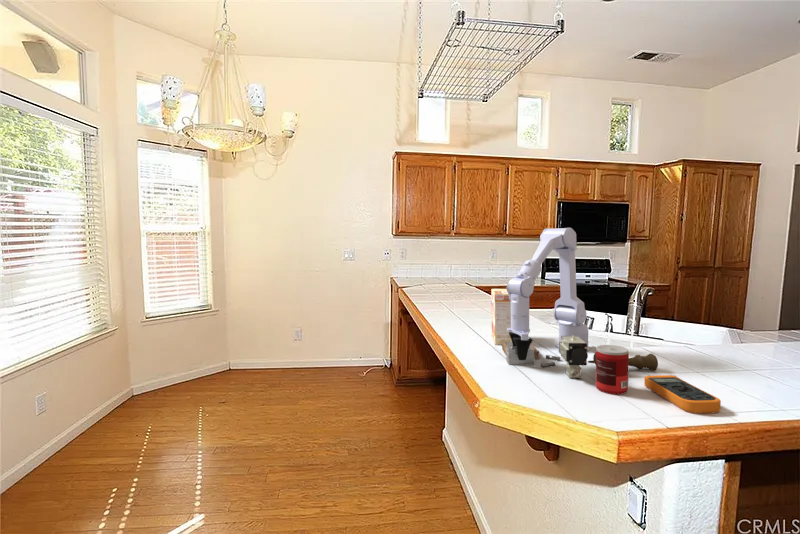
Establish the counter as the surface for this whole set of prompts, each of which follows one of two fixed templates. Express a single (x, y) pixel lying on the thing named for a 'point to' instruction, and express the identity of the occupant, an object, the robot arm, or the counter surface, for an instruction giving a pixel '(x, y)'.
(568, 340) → the pneumatic valve
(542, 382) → the counter surface
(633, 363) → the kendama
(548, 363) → the bolt
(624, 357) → the canned food
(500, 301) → the coffeecake box
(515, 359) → the block
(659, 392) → the multimeter
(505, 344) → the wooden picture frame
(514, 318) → the robot arm
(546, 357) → the bolt
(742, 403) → the counter surface
